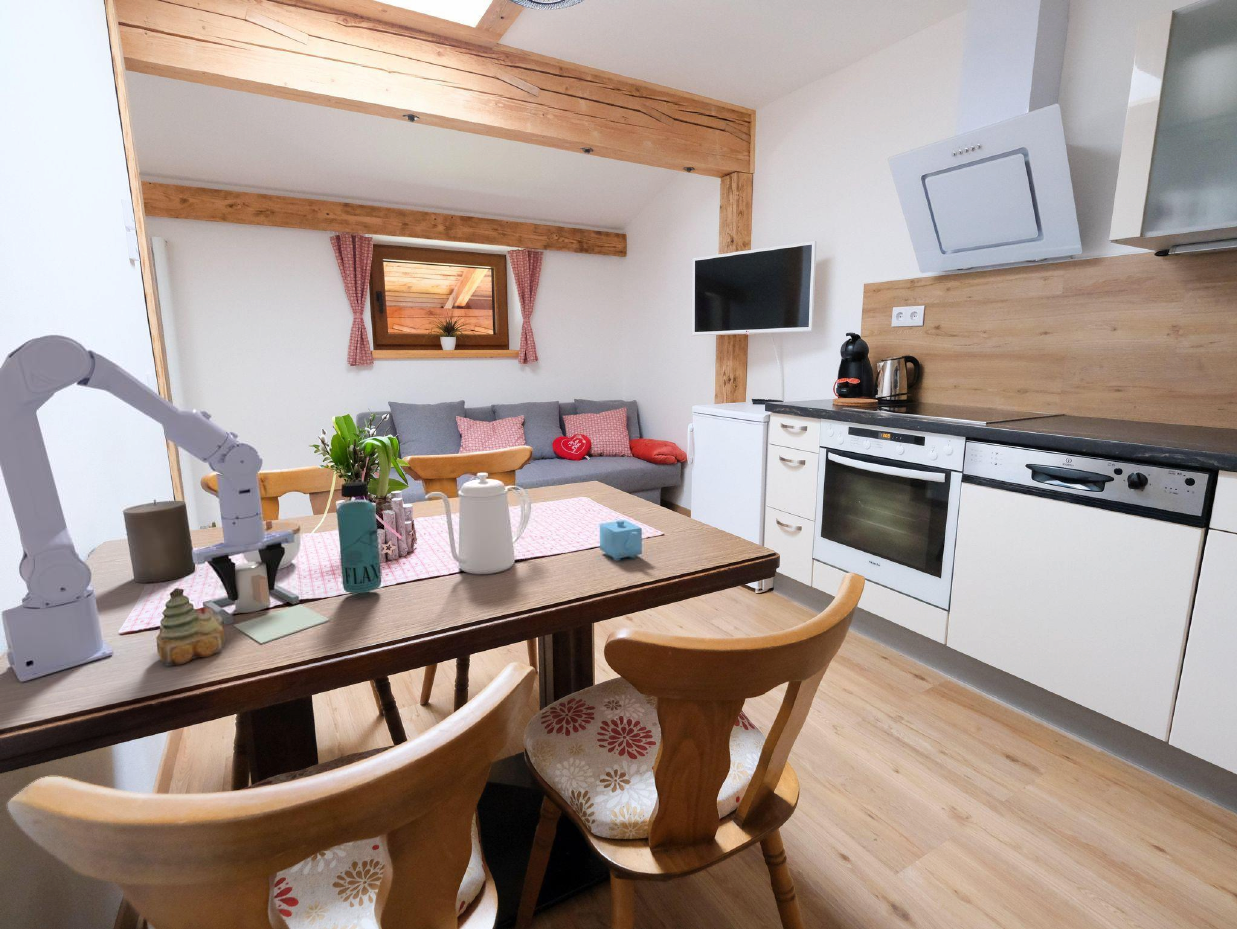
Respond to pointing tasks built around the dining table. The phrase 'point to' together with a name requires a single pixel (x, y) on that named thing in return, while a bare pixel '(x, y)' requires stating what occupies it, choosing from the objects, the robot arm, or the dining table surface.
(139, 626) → the dining table surface
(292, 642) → the dining table surface
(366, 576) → the beverage bottle
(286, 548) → the lidded jar
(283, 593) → the cradle
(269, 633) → the pad
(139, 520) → the pillar candle
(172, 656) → the ornament
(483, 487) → the coffeepot
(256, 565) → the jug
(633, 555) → the teapot
